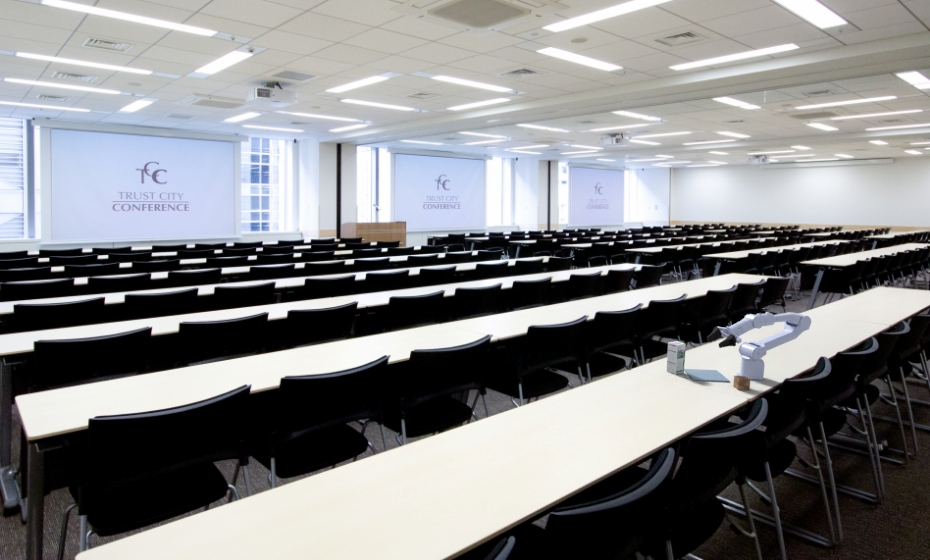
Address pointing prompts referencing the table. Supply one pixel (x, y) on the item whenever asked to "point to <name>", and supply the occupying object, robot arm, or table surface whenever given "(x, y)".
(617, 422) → the table surface
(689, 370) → the slate board
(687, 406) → the table surface
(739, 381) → the walnut cube
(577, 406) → the table surface
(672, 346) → the syrup box
